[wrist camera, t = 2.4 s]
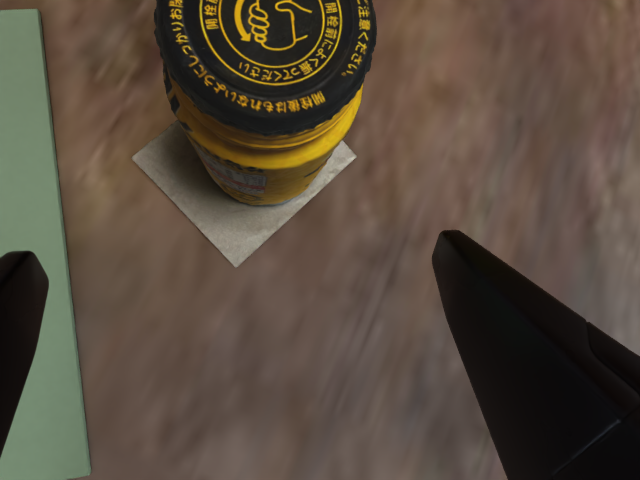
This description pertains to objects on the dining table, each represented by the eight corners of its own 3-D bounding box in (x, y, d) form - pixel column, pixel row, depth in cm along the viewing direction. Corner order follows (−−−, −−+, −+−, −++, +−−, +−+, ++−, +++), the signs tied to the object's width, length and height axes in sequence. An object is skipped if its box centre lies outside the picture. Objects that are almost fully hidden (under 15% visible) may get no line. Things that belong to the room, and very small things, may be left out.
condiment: (356, 157, 22) (469, 36, 10) (236, 268, 21) (204, 278, 9) (261, 52, 22) (262, -204, 10) (132, 159, 20) (-45, 18, 8)
